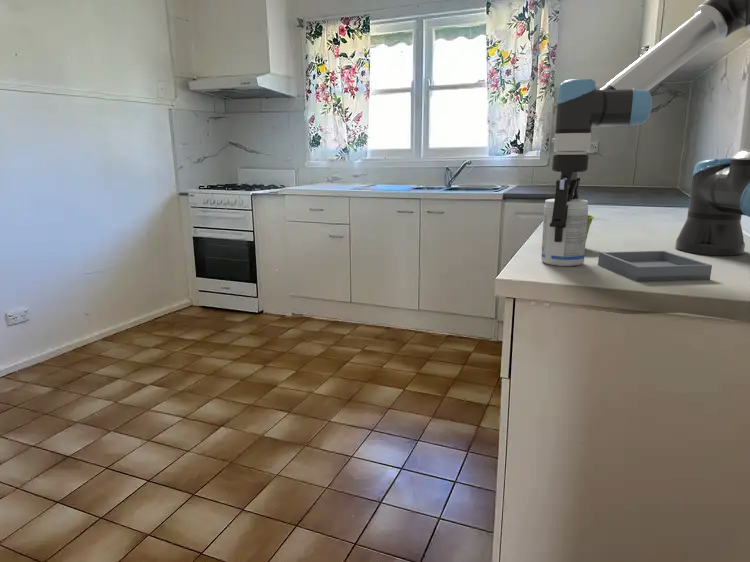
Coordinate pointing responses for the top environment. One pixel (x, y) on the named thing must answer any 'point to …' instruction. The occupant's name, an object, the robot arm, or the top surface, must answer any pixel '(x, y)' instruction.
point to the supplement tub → (574, 233)
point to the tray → (654, 266)
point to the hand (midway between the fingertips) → (562, 251)
